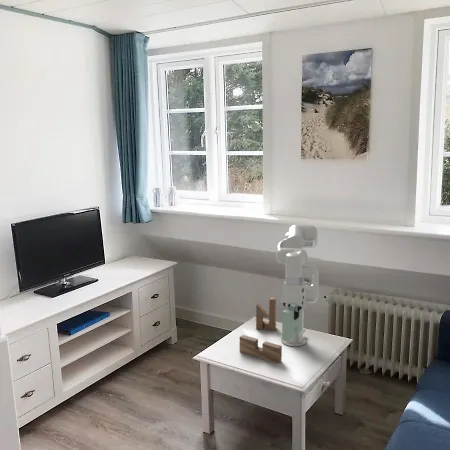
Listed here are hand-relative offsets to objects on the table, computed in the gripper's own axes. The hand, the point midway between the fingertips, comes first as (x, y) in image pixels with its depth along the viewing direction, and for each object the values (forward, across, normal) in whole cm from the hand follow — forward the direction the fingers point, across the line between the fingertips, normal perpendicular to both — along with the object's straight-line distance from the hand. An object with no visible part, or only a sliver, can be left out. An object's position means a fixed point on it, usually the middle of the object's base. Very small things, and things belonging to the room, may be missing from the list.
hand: (292, 317), depth 218 cm
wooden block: (+25, +31, -29) cm, 49 cm away
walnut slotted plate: (+24, +17, +1) cm, 29 cm away
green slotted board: (+9, 0, 0) cm, 9 cm away
